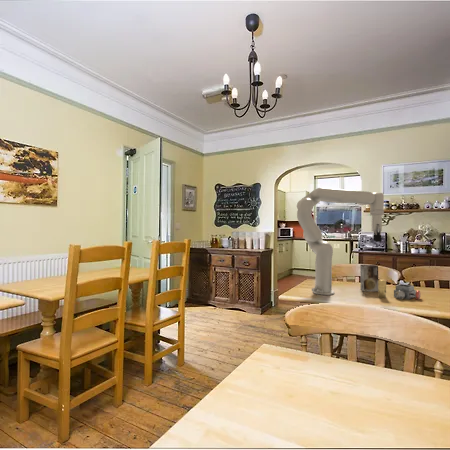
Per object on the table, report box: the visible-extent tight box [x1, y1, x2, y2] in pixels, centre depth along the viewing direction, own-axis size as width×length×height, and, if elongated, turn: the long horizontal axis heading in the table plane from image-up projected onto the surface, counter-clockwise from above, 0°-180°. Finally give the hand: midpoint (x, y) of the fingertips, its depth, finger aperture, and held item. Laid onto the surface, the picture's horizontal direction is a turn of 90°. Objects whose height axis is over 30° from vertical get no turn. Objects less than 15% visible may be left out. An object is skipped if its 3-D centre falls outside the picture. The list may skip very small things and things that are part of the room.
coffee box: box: [359, 264, 379, 292], centre depth 193 cm, size 9×6×16 cm
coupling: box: [377, 278, 387, 299], centre depth 175 cm, size 4×4×10 cm
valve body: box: [393, 283, 421, 301], centre depth 175 cm, size 16×11×7 cm
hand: (377, 241), depth 185 cm, fingers open, 9 cm apart
